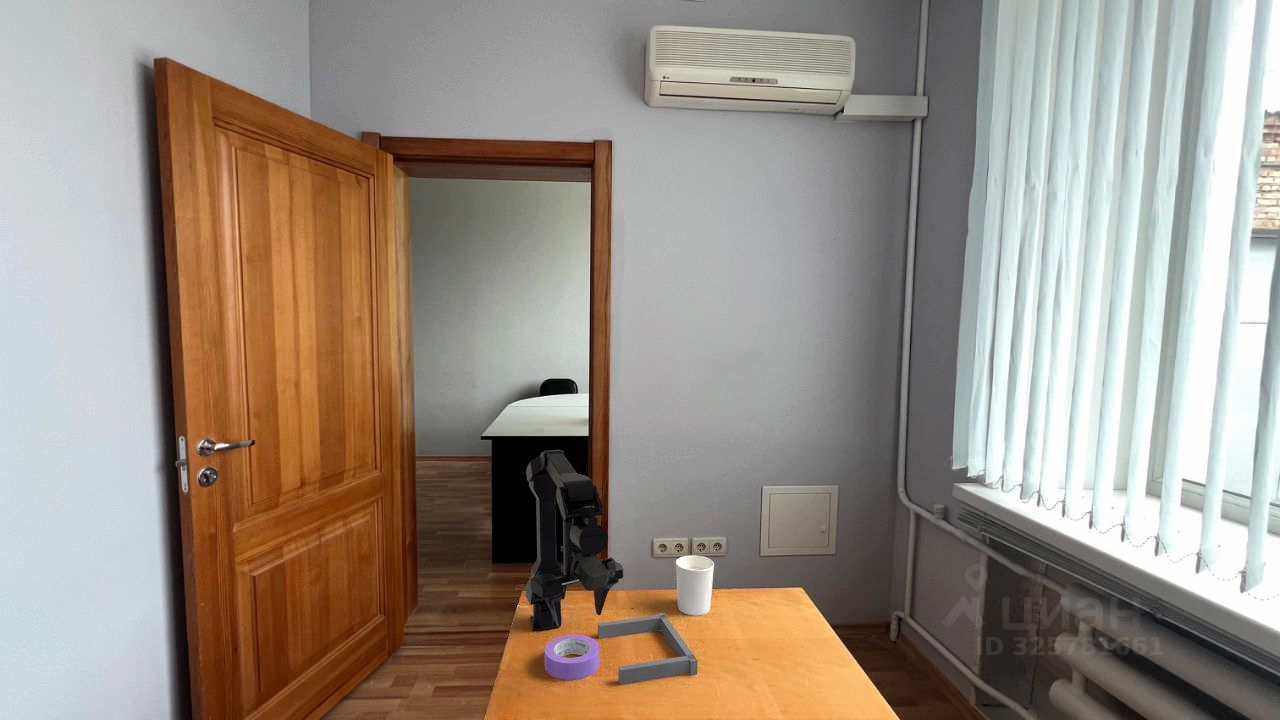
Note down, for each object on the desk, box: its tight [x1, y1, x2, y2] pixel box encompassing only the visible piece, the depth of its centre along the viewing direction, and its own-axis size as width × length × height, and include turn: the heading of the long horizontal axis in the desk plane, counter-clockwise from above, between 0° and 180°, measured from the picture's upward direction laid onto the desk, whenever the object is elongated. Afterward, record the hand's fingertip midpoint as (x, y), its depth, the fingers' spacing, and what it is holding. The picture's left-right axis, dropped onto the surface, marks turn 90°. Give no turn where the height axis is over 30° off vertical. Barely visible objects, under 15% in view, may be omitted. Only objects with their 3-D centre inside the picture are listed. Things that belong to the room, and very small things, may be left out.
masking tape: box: [543, 634, 600, 681], centre depth 132 cm, size 12×12×4 cm
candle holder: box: [675, 555, 715, 616], centre depth 158 cm, size 10×10×12 cm
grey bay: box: [597, 612, 699, 686], centre depth 136 cm, size 22×16×3 cm
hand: (579, 620), depth 124 cm, fingers open, 9 cm apart
